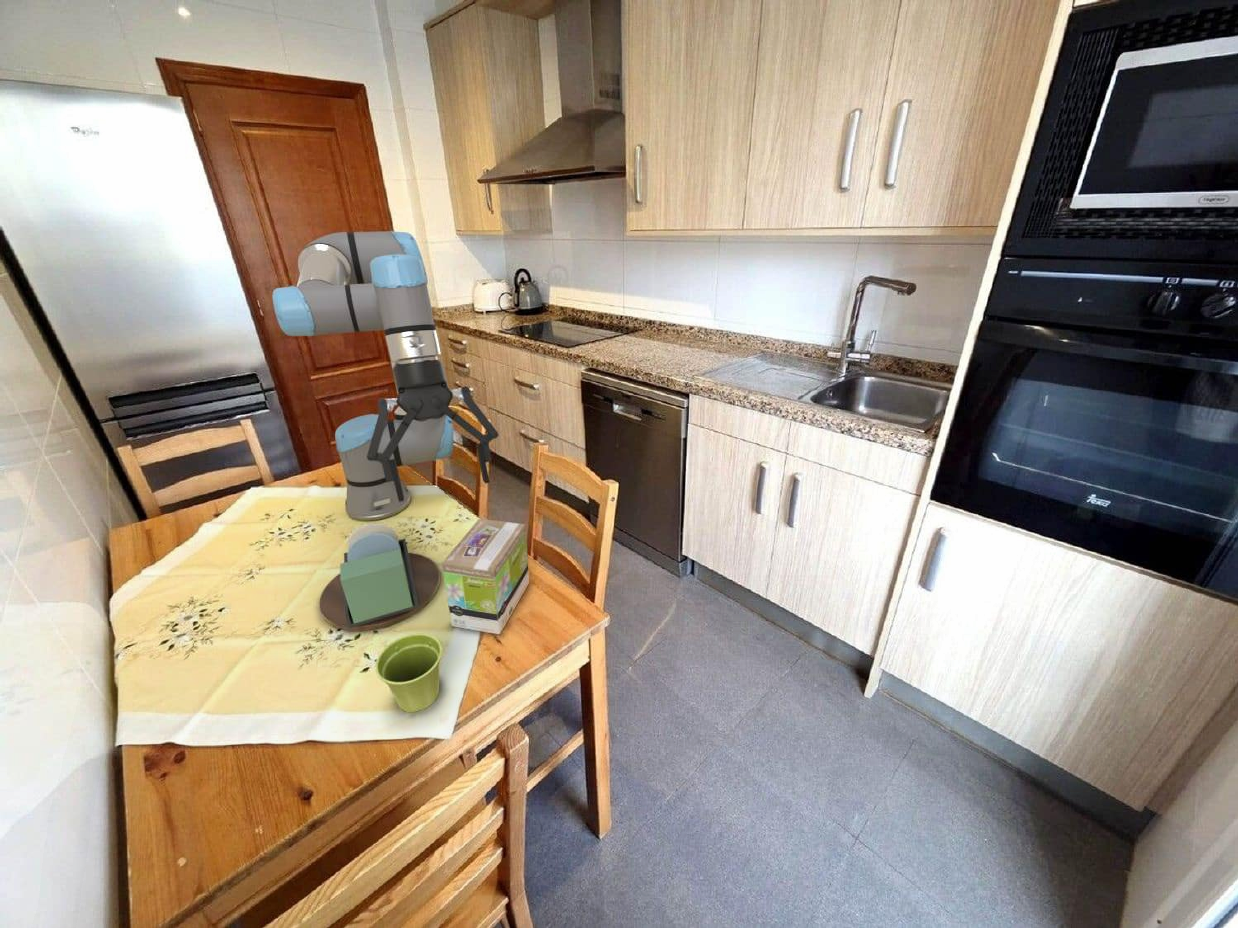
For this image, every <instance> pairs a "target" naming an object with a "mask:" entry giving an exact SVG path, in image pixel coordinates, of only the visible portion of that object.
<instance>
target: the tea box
mask: <svg viewBox="0 0 1238 928" xmlns="http://www.w3.org/2000/svg"><path fill="white" fill-rule="evenodd" d="M441 567H442V575H443V580H444V586H445V587H444V588H445V594H446V599H447V604H448V611H449V618H450V623H451V627H455V628H460V629H466V630H471V631H478V632H483V633H488V634H493V635H494V634H495V635H501V633H502V631H503V629H504V628H505V626H506V625H507V623H508V621H509V619H510V617H511V616H512V614H513V612H514V610H515V608H516V606H517V605H518V603H519V602H520V600H521V598H522V596H523V594H524V593H525V591H526V589H527V587H528V586H529V584H530V571H529V557H528V542H527V529H526V524H525V523H516V522H510V521H503V520H494V519H489V518H488V519H487V518H478V520H477V521H476V522H475V523H474V524H473V525H472V527H471V528H470V529H469V530H468V531H467V533H466V534H465V535H464V536H463V537H462V538H461V540H460V541H459V542H458V543H457V545H456V546H455V547H454V548H453V549H452V551H451V552H450V553H449V554H448V555H447V556H446V558H445V559H443V561H442V563H441Z"/></svg>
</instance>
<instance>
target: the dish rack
mask: <svg viewBox="0 0 1238 928" xmlns="http://www.w3.org/2000/svg"><path fill="white" fill-rule="evenodd" d="M346 550H347V552H344V553H343V562H342V563H340V565H339V566H340V569H339V570H340V571H339V574H340V581H341V584H342V587H343V590H344V601H345V618H346V621H347V624H348V627H349V629H350V628H353V627H356V626H360V625H363V624H367V623H370V622H373V621H377V620H380V619H384V618H387V617H390V616H394V615H397V614H401V613H404V612H407V611H411V610H414V609H418V608H419V604H418V599H417V594H416V589H415V583H414V578H413V573H412V568H411V563H410V558H409V553H410V552H409V549H408V544H407V540H406V538H402V539H400V538H399V534H398V533H397V531H396V530H395V529H394V528H393V527H391V526H390V525H388V524H385V523H380V522H371V523H367V524H363V525H361V526H359V527H357V528H356V529H354V530H353V531H352V532H351V534H350V535H349V536H348V539H347V542H346Z"/></svg>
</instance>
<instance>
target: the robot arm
mask: <svg viewBox="0 0 1238 928" xmlns="http://www.w3.org/2000/svg"><path fill="white" fill-rule="evenodd" d="M297 259H298V260H297V268H298V272H299V277H298V281H297V283H296V286H295V285H289V286H284V287H277V288H275V289H274V290H273V292H272V304H273V309H274V313H275V316H276V319H277V322H278V323H277V324H278V325H279V327H280V329H281V331H282V332H283V333H284V334H285V335H287V336H289V337H308V338H310V337H314V336H325V335H326V336H327V335H336V334H349V333H360V332H361V333H362V332H374V331H375V332H376V331H383V332H384V338H385V341H386V346H387V350H388V351H387V352H388V355H389V359H390V364H391V370H392V374H393V375H392V376H393V379H394V384H395V390H396V395H397V397H393V398H385V397H380V398H379V399H378V400H377V409H378V413H377V414H375V413H369V414H364V415H361V416H357V417H354V418H351V419H349V420H347V421H345V422H343V423H342V424H341V425H339V426H338V427H337V429H336V430H335V433H334V438H335V444H336V451H337V452H338V456H339V459H340V462H341V466H342V469H343V470H342V471H343V473H344V477H345V480H346V484H347V486H346V499H345V502H344V507H345V512H346V514H347V516H348V517H349V519H353V520H356V521H362V522H374V521H380V520H384V519H388V518H391V517H393V516H396V515H398V514H400V513H402V512H404V510H406V509H407V508H408V507H409V505H410V503H411V501H412V497H411V493H410V491H409V489H408V487H407V486H406V485H405V482H404V481H403V479H402V477H400V473H399V469H398V468H399V467H403V466H408V465H409V466H410V465H417V464H422V463H428V462H436V461H438V460H442V459H443V460H444V459H447V458H450V457H451V456H452V454H453V452H454V426H453V425H454V424H453V422H454V423H456V424H457V425H458V426H460V428H462V429H463V430H465V431H466V433H468V434H469V435H471V436H472V437H474V438H475V439H476V440H477V441H479V443H478V442H477V443H475V446H476V452H477V457H478V462H479V467H480V468H479V469H480V473H481V478H482V481H483V483H484V484H489V483H490V478H489V473H488V467H487V463H491V462H492V453H491V448H490V447H491V446H490V442H491V441H493V440H494V439H497V438H499V432H498V431H497V430H496V428H495V427H494V426H493V424H492V423H491V422H490V420H489V419H488V417H486V415H485V414H484V413H483V411H482V410H481V409H480V407H479V406H478V404H476V402H475V400H474V399H473V398H472V394H471V391H470V388H469V387H468V386H466V385H461V386H460V387H457V388H455V389H450V387H449V385H448V381H447V376H446V369H445V366H444V362H443V361H442V360H441V359H439V357H440V356H442V351H441V347H440V342H439V336H438V331H437V327H436V325H435V320H434V315H433V309H432V303H431V298H430V293H429V289H428V284H429V279H428V274H427V270H426V265H425V263H424V259H423V255H422V253H421V249H420V247H419V244H418V241H417V240H416V238H415V237H414V235H412V234H411V233H409V232H407V231H393V230H389V231H387V230H386V231H384V230H383V231H349V232H348V231H340V232H339V231H338V232H333V233H329V234H326V235H323V236H320V237H319V238H316V239H315V240H313V241H311V242H309V243H308V244H307V245H306V246H304V248H303V249H302V250H301V252H300V253H299V255H298V258H297ZM453 397H456V398H457V400H458V401H460V402H464V404H465V405H466V407H467V408H468V409H469V410H470V412H471V413H472V414H473V416H474V417H475V418H476V419H477V421H478V423H480V425H481V426H482V427H483V428H484V430H485V431H486V433H484V434H483V433H482V432H481V431H480V430H478V429H477V428H476V427H474V426H473V425H472V424H471V423H470V422H468V421H467V420H466V419H465V418H463V417H462V416H460V414H458V413H457V412H455V411H454V410H453V409H452V408H450V407H449V406H450V404H451V402H452V400H453ZM395 406H397V408H396V409H395V411H394V414H393V415H394V417H395V419H391V420H388V416H389V413H392V412H393V410H394V407H395Z"/></svg>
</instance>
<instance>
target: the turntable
mask: <svg viewBox="0 0 1238 928" xmlns="http://www.w3.org/2000/svg"><path fill="white" fill-rule="evenodd" d="M408 553H409V558H410V563H411V568H412V573H413V578H414V583H415V589H416V594H417V599H418V604H419V608H418V609H414V610H411V611H407V612H404V613H401V614H397V615H394V616H390V617H387V618H384V619H380V620H377V621H373V622H370V623H367V624H363V625H360V626H356V627H353V628H350V629H349V627H348V624H347V621H346V618H345V601H344V590H343V587H342V584H341V581H340V573H338V574H337V575H336V576H334V578H332V579H331V580H330V581H329V583H328V584H327V585H326V586H325V588H324V589H323V591H322V592H321V594H320V598H319V602H318V603H319V610H320V613H321V616H322V618H323V619H324V620H325V621H326V622H327V623H328V624H329V625H330V626H331V627H333V628H336V629H338V630H342V631H346V632H370V631H376V630H380V629H384V628H389V627H390V626H393V625H396V624H399V623H402V622H404V621H405V620H407V619H409V618H411V617H412V616H414V615H416V614H418V613H419V612H420V611H421V610H422V609H424V608H425V607H426V606H427V605H428V604H429V603H431V601H432V600H433V599H434V597H435V595H436V594H437V592H438V590H439V588H440V584H441V575H440V570H439V568H438V566H437V564H436V563H435V562H434V561H433V560H432V559H430V558H429V557H426V556H425V555H421V554H418V553H413V552H408Z"/></svg>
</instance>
